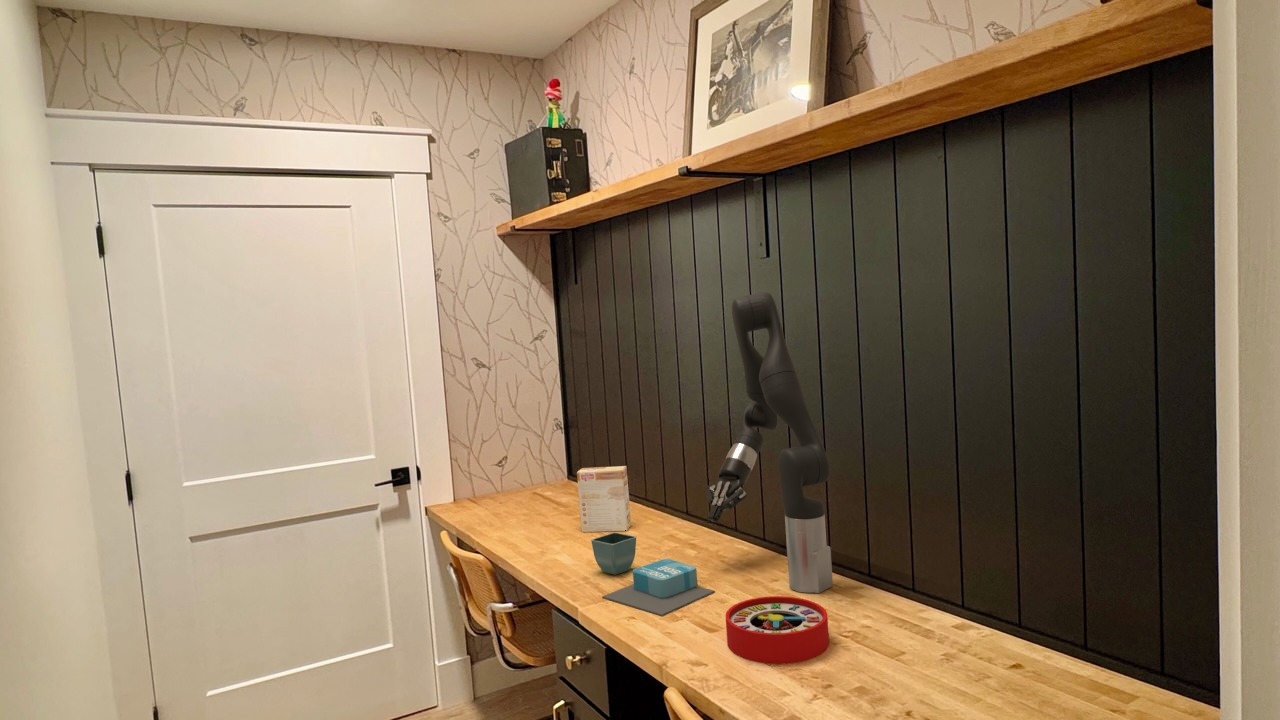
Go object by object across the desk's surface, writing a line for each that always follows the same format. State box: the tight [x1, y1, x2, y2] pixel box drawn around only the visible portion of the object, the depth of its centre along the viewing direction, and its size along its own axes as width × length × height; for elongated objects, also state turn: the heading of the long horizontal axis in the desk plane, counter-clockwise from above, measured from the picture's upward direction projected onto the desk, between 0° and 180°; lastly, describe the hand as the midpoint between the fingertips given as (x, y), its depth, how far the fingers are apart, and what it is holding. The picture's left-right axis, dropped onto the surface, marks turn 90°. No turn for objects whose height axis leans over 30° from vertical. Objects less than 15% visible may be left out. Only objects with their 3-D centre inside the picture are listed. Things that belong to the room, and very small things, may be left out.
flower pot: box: [590, 531, 637, 576], centre depth 208 cm, size 9×9×9 cm
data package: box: [632, 558, 698, 598], centre depth 192 cm, size 12×4×12 cm
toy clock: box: [725, 595, 830, 665], centre depth 157 cm, size 20×6×20 cm
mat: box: [601, 583, 716, 617], centre depth 188 cm, size 20×18×1 cm
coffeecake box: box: [576, 465, 632, 533], centre depth 251 cm, size 15×7×20 cm, turn 80°
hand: (712, 520), depth 201 cm, fingers closed
